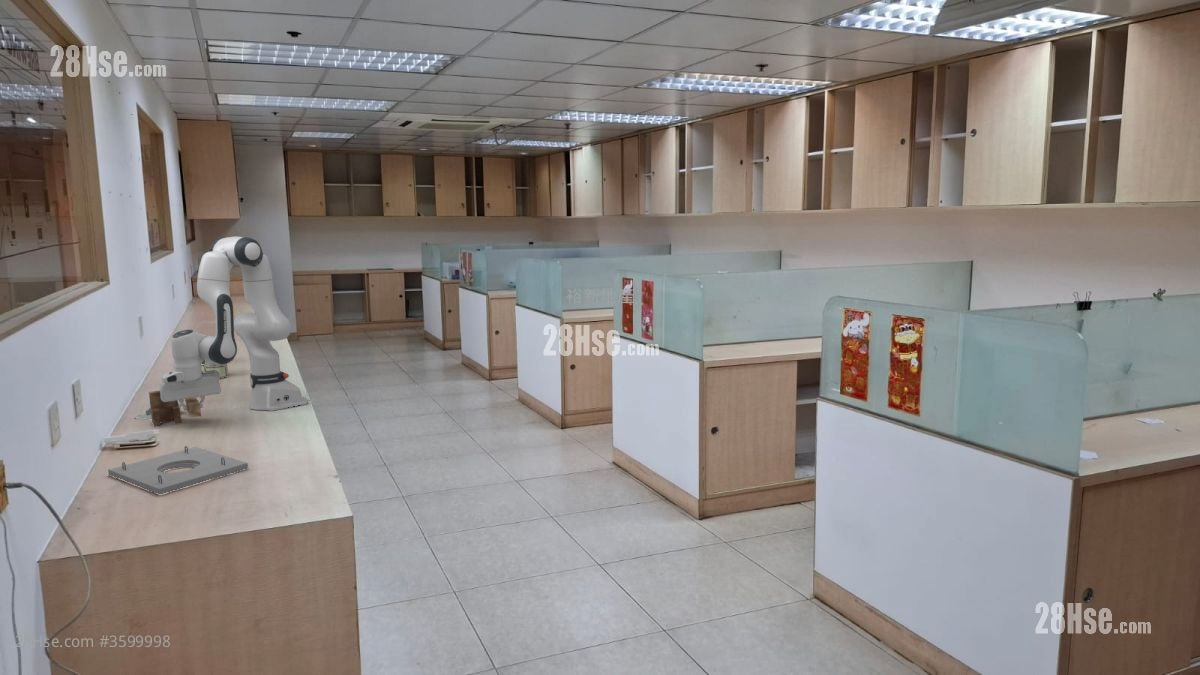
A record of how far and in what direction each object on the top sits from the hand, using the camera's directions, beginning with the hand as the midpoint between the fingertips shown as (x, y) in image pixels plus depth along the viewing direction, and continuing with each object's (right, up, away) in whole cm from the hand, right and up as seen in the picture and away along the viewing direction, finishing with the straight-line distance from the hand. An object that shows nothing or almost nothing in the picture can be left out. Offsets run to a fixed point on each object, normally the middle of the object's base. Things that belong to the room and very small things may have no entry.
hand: (193, 408), depth 283 cm
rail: (0, -2, 0) cm, 2 cm away
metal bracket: (-20, -5, +14) cm, 25 cm away
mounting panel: (+24, -16, -51) cm, 59 cm away
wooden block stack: (-12, -6, +4) cm, 14 cm away
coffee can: (-34, +7, +83) cm, 90 cm away
